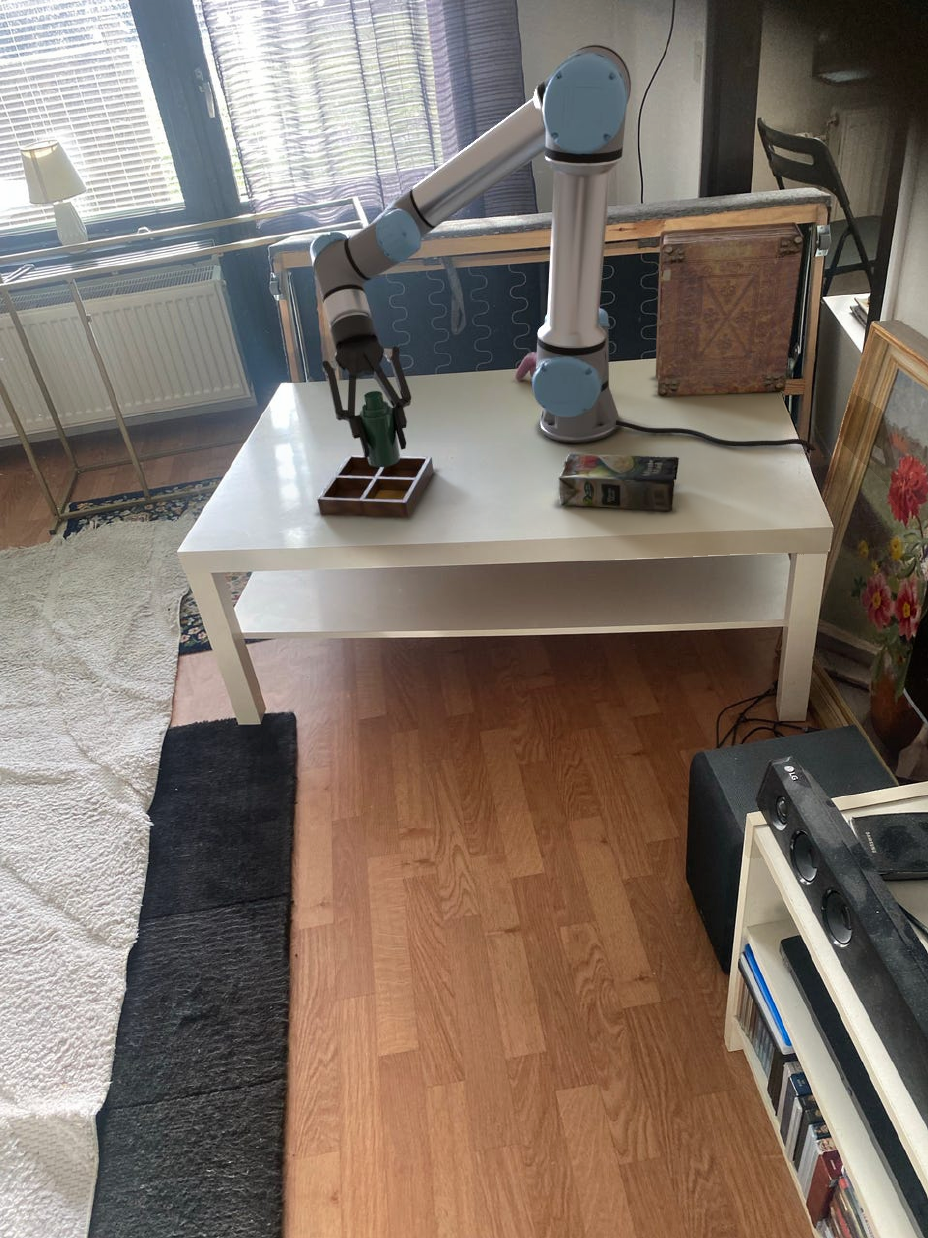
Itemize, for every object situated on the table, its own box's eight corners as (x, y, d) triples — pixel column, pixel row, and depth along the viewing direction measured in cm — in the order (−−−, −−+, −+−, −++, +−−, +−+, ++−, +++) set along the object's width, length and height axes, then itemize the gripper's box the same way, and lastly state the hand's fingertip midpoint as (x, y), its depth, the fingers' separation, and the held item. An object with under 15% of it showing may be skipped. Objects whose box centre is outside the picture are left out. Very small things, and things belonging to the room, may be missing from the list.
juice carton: (552, 506, 156) (551, 474, 152) (563, 479, 163) (563, 448, 159) (671, 514, 150) (673, 481, 146) (677, 485, 157) (679, 453, 154)
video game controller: (559, 390, 197) (567, 357, 195) (547, 388, 194) (555, 354, 192) (524, 381, 203) (532, 349, 201) (512, 379, 199) (519, 346, 197)
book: (656, 396, 186) (660, 244, 168) (655, 377, 193) (659, 230, 175) (785, 391, 182) (803, 235, 164) (779, 372, 189) (796, 221, 171)
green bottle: (404, 452, 158) (394, 387, 151) (394, 467, 154) (383, 402, 147) (374, 451, 160) (362, 387, 152) (363, 466, 156) (351, 401, 148)
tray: (433, 471, 170) (431, 456, 169) (408, 517, 158) (405, 502, 156) (351, 469, 175) (348, 454, 173) (320, 514, 162) (317, 499, 160)
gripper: (402, 323, 160) (436, 446, 157) (298, 344, 157) (331, 469, 154) (405, 302, 153) (441, 430, 150) (296, 323, 150) (330, 454, 147)
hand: (385, 450), depth 152 cm, fingers closed on green bottle, 6 cm apart
